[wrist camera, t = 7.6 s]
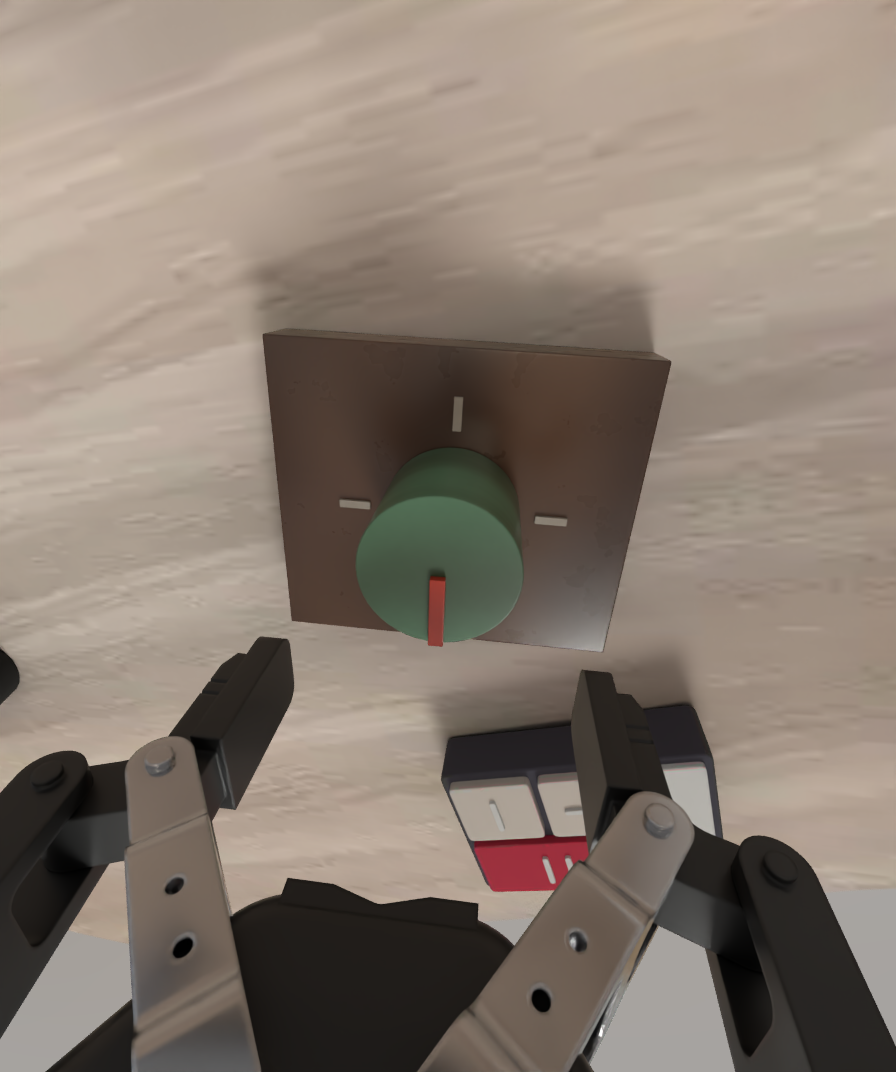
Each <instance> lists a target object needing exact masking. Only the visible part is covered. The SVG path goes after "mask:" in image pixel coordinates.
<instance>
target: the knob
mask: <svg viewBox="0 0 896 1072" xmlns="http://www.w3.org/2000/svg"><path fill="white" fill-rule="evenodd" d="M355 568H356V576H357V580H358V584H359V587H360V589H361V592H362V594H363V596H364V598H365V599H366V601H367V603H368V604H369V605H370V607H371V608H372V609H373V611H374V612H375V613H376V614H377V615H378V616H379V617H380V618H381V619H382V620H384V621H385V622H386V623H387V624H389V625H390V626H392V627H393V628H395V629H397V630H398V631H400V632H402V633H404V634H406V635H409V636H412V637H415V638H418V639H422V640H426V641H428V645H429V646H440V647H442V646H443V642H457V641H463V640H468V639H471V638H474V637H477V636H479V635H482V634H484V633H486V632H488V631H489V630H491V629H493V628H494V627H496V626H497V625H498V624H499V623H501V622H502V621H503V620H504V619H505V618H506V617H507V616H508V615H509V613H510V612H511V611H512V609H513V608H514V606H515V604H516V603H517V601H518V599H519V596H520V593H521V591H522V586H523V581H524V565H523V551H522V537H521V523H520V509H519V501H518V497H517V493H516V491H515V488H514V486H513V484H512V482H511V480H510V479H509V477H508V476H507V475H506V473H505V472H504V471H503V470H502V469H501V468H500V467H499V466H498V465H497V464H496V463H494V462H493V461H492V460H490V459H489V458H487V457H485V456H483V455H481V454H479V453H476V452H474V451H470V450H467V449H462V448H439V449H434V450H430V451H427V452H424V453H422V454H419V455H418V456H416V457H414V458H412V459H411V460H410V461H408V462H407V463H406V464H405V465H404V466H403V467H402V468H401V469H400V470H399V471H398V472H397V474H396V475H395V477H394V478H393V480H392V482H391V484H390V486H389V487H388V489H387V491H386V493H385V495H384V496H383V498H382V500H381V502H380V504H379V506H378V507H377V509H376V511H375V513H374V515H373V517H372V518H371V520H370V522H369V524H368V526H367V528H366V529H365V531H364V533H363V535H362V537H361V539H360V542H359V545H358V548H357V553H356V564H355Z"/></svg>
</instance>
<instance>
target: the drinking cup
mask: <svg viewBox="0 0 896 1072" xmlns="http://www.w3.org/2000/svg"><path fill="white" fill-rule="evenodd" d="M18 684H19V673H18V670H17V668H16V666H15V665H14V663H13V662H12V660H11V659H10V658H9V657H8V656H7V655H6V654H5V653H4V652H2V651H1V650H0V704H1V703H2V702H3V701H4V700H5V699H6V698H7V697H8V696H9V695H10V694H11V693H12V692H13V691H14V690H15V689H16V688H17V687H18Z"/></svg>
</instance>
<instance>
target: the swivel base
mask: <svg viewBox="0 0 896 1072" xmlns="http://www.w3.org/2000/svg"><path fill="white" fill-rule="evenodd" d="M263 344H264V354H265V364H266V374H267V383H268V393H269V403H270V412H271V422H272V432H273V442H274V451H275V461H276V471H277V481H278V490H279V500H280V510H281V520H282V529H283V539H284V549H285V559H286V568H287V578H288V588H289V598H290V607H291V617H292V621H298V622H308V623H317V624H327V625H337V626H347V627H357V628H367V629H377V630H387V631H397V632H400V631H398V630H397V629H395V628H393V627H392V626H390V625H389V624H387V623H386V622H385V621H384V620H382V619H381V618H380V617H379V616H378V615H377V614H376V613H375V612H374V611H373V609H372V608H371V607H370V605H369V604H368V603H367V601H366V599H365V598H364V596H363V594H362V592H361V589H360V587H359V584H358V580H357V576H356V568H355V564H356V553H357V548H358V545H359V542H360V539H361V537H362V535H363V533H364V531H365V529H366V528H367V526H368V524H369V522H370V520H371V518H372V517H373V515H374V513H375V511H376V509H377V507H378V506H379V504H380V502H381V500H382V498H383V496H384V495H385V493H386V491H387V489H388V487H389V486H390V484H391V482H392V480H393V478H394V477H395V475H396V474H397V472H398V471H399V470H400V469H401V468H402V467H403V466H404V465H405V464H406V463H407V462H408V461H410V460H411V459H412V458H414V457H416V456H418V455H419V454H422V453H424V452H427V451H430V450H434V449H439V448H462V449H467V450H470V451H474V452H476V453H479V454H481V455H483V456H485V457H487V458H489V459H490V460H492V461H493V462H494V463H496V464H497V465H498V466H499V467H500V468H501V469H502V470H503V471H504V472H505V473H506V475H507V476H508V477H509V479H510V480H511V482H512V484H513V486H514V488H515V491H516V493H517V497H518V501H519V509H520V523H521V537H522V551H523V565H524V581H523V586H522V591H521V593H520V596H519V599H518V601H517V603H516V604H515V606H514V608H513V609H512V611H511V612H510V613H509V615H508V616H507V617H506V618H505V619H504V620H503V621H502V622H501V623H499V624H498V625H497V626H496V627H494V628H493V629H491V630H489V631H488V632H486V633H484V634H482V635H479V636H477V637H474V638H471V639H476V640H486V641H496V642H506V643H515V644H525V645H535V646H545V647H555V648H565V649H575V650H585V651H595V652H603V650H604V646H605V642H606V638H607V633H608V629H609V625H610V621H611V616H612V612H613V608H614V604H615V599H616V595H617V591H618V587H619V582H620V578H621V574H622V570H623V566H624V561H625V557H626V553H627V549H628V544H629V540H630V536H631V532H632V527H633V523H634V519H635V515H636V510H637V506H638V502H639V498H640V493H641V489H642V485H643V481H644V477H645V472H646V468H647V464H648V460H649V455H650V451H651V447H652V443H653V438H654V434H655V430H656V426H657V421H658V417H659V413H660V409H661V405H662V400H663V396H664V392H665V388H666V383H667V379H668V375H669V371H670V366H671V361H670V360H668V359H666V358H664V357H662V356H659V355H657V354H655V353H651V352H636V351H621V350H606V349H590V348H575V347H560V346H545V345H530V344H514V343H499V342H484V341H469V340H453V339H438V338H423V337H408V336H393V335H377V334H362V333H347V332H332V331H317V330H301V329H282V330H278V331H273V332H269V333H265V334H263Z"/></svg>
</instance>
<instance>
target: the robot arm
mask: <svg viewBox="0 0 896 1072" xmlns="http://www.w3.org/2000/svg"><path fill="white" fill-rule="evenodd" d="M293 691H294V676H293V667H292V658H291V649H290V643H289V641H288V640H287V639H281V638H271V637H259V638H258V639H257V640H256V641H255V643H254V644H253V646H252V647H251V648H250V650H249V651H248V653H247V654H242V653H237V654H236V655H235V656H233V657H232V658H230V659H229V660H228V661H226V662H225V663H223V664H222V665H221V666H220V667H219V669H218V670H217V671H216V673H215V674H214V676H213V677H212V678H211V681H210V682H208V684H207V685H206V686H205V688H204V689H203V690H202V694H201V693H200V694H199V696H198V697H197V698H196V700H195V701H194V702H193V704H192V705H191V706H190V708H189V709H188V710H187V712H186V713H185V714H184V716H183V717H182V718H181V720H180V721H179V722H178V724H177V725H176V726H175V728H174V729H173V730H172V732H171V733H170V734H169V736H168V737H164V738H160V739H157V740H154V741H152V742H150V743H148V744H146V745H145V746H143V747H141V748H140V749H139V750H138V751H136V752H135V753H134V755H133V756H132V757H131V758H130V759H129V760H126V761H121V762H114V763H108V764H101V765H95V766H88V763H87V760H86V758H85V757H84V755H82V754H81V753H79V752H76V751H60V752H56V753H52V754H49V755H46V756H44V757H42V758H39V759H38V760H36V761H34V762H32V763H31V764H29V765H28V766H26V767H25V768H24V769H23V770H21V771H20V772H19V773H18V774H17V775H16V776H15V778H14V779H13V780H12V781H11V782H10V783H9V784H8V785H7V786H6V787H5V788H4V789H3V791H2V792H1V793H0V1038H1V1037H2V1035H3V1033H4V1032H5V1030H6V1029H7V1027H8V1026H9V1024H10V1022H11V1021H12V1019H13V1018H14V1016H15V1014H16V1012H17V1011H18V1009H19V1008H20V1006H21V1005H22V1003H23V1001H24V1000H25V998H26V997H27V995H28V993H29V992H30V990H31V989H32V987H33V985H34V984H35V982H36V981H37V979H38V977H39V976H40V974H41V972H42V971H43V969H44V968H45V966H46V964H47V963H48V961H49V960H50V958H51V956H52V955H53V953H54V951H55V950H56V948H57V947H58V945H59V943H60V942H61V940H62V939H63V937H64V935H65V934H66V932H67V931H68V929H69V927H70V926H71V924H72V923H73V921H74V919H75V918H76V916H77V915H78V913H79V911H80V910H81V908H82V907H83V905H84V903H85V902H86V900H87V898H88V897H89V895H90V894H91V892H92V890H93V889H94V887H95V886H96V884H97V882H98V881H99V879H100V878H101V876H102V874H103V873H104V871H105V870H106V868H107V866H108V865H109V863H114V862H119V861H124V862H125V879H126V897H127V915H128V932H129V949H130V968H131V985H132V999H131V1000H130V1001H129V1002H127V1003H126V1004H125V1005H124V1006H123V1007H121V1008H120V1009H119V1010H118V1011H117V1012H116V1013H115V1014H113V1015H112V1016H111V1017H110V1018H109V1019H107V1020H106V1021H105V1022H104V1023H103V1024H101V1025H100V1026H99V1027H98V1028H97V1029H95V1030H94V1031H93V1032H92V1033H91V1034H90V1035H88V1036H87V1037H86V1038H85V1039H84V1040H82V1041H81V1042H80V1043H79V1044H78V1045H77V1046H75V1047H74V1048H73V1049H72V1050H71V1051H69V1052H68V1053H67V1054H66V1055H65V1056H63V1057H62V1058H61V1059H60V1060H59V1061H58V1062H56V1063H55V1064H54V1065H53V1066H52V1067H51V1068H49V1069H48V1070H47V1071H46V1072H594V1071H593V1070H592V1068H591V1066H590V1063H591V1061H592V1059H593V1058H594V1055H595V1054H596V1052H597V1050H598V1048H599V1046H600V1044H601V1042H602V1040H603V1038H604V1036H605V1034H606V1032H607V1030H608V1028H609V1025H610V1023H611V1021H612V1019H613V1017H614V1015H615V1013H616V1010H617V1008H618V1006H619V1004H620V1002H621V999H622V997H623V995H624V993H625V991H626V989H627V987H628V985H629V983H630V982H631V980H632V978H633V976H634V974H635V972H636V970H637V968H638V966H639V964H640V962H641V960H642V958H643V956H644V954H645V952H646V950H647V948H648V946H649V944H650V942H651V940H652V938H653V937H654V934H655V933H656V931H657V929H658V927H659V926H660V927H663V928H665V929H667V930H669V931H671V932H673V933H675V934H677V935H679V936H681V937H684V938H685V939H687V940H690V941H691V942H694V943H696V944H698V945H700V946H702V947H704V948H705V950H706V954H707V958H708V962H709V966H710V970H711V974H712V978H713V982H714V987H715V991H716V994H717V999H718V1003H719V1007H720V1011H721V1015H722V1019H723V1023H724V1027H725V1031H726V1035H727V1040H728V1044H729V1048H730V1052H731V1056H732V1059H733V1064H734V1068H735V1072H896V1046H895V1044H894V1042H893V1039H892V1037H891V1035H890V1033H889V1031H888V1029H887V1026H886V1024H885V1023H884V1020H883V1018H882V1016H881V1014H880V1011H879V1009H878V1007H877V1005H876V1003H875V1001H874V998H873V996H872V994H871V992H870V990H869V988H868V986H867V983H866V981H865V979H864V977H863V975H862V973H861V971H860V968H859V966H858V964H857V962H856V960H855V958H854V956H853V953H852V951H851V949H850V947H849V945H848V943H847V940H846V938H845V936H844V934H843V932H842V930H841V927H840V925H839V923H838V921H837V919H836V917H835V915H834V912H833V910H832V908H831V906H830V904H829V902H828V899H827V897H826V895H825V893H824V891H823V889H822V886H821V884H820V882H819V880H818V878H817V876H816V874H815V872H814V870H813V869H812V868H811V866H810V865H809V864H808V862H807V861H806V860H805V859H804V858H803V857H802V856H801V855H800V854H799V853H798V852H796V851H795V850H794V849H792V848H791V847H789V846H788V845H786V844H785V843H783V842H781V841H779V840H776V839H773V838H771V837H766V836H751V837H748V838H747V839H745V840H744V841H743V842H742V843H741V845H740V846H739V845H737V844H734V843H732V842H729V841H727V840H724V839H722V838H719V837H717V836H714V835H712V834H710V833H708V832H705V831H703V830H702V829H700V828H698V827H697V826H695V825H694V824H693V823H692V822H691V819H690V818H689V816H688V815H687V813H686V812H685V811H684V810H683V808H682V807H681V806H679V805H678V804H677V803H676V802H675V801H673V799H672V797H671V794H670V791H669V788H668V785H667V781H666V778H665V775H664V772H663V769H662V766H661V763H660V760H659V756H658V753H657V750H656V747H655V745H654V744H653V738H652V735H651V732H650V731H649V725H648V722H647V719H646V716H645V713H644V710H643V709H642V708H641V707H640V705H639V704H638V703H637V702H636V700H635V699H634V698H633V697H632V696H631V695H628V694H618V693H617V692H616V688H615V684H614V680H613V677H612V674H611V673H609V672H599V671H589V670H582V671H581V673H580V677H579V682H578V687H577V692H576V696H575V701H574V706H573V711H572V720H571V734H572V742H573V749H574V756H575V763H576V770H577V777H578V784H579V791H580V798H581V805H582V812H583V819H584V826H585V833H586V840H587V846H588V853H589V855H588V857H587V858H586V859H585V860H584V861H582V860H578V861H576V862H575V863H574V865H573V866H572V867H571V868H570V870H569V871H568V872H567V874H566V875H565V877H564V878H563V879H562V881H561V882H560V884H559V885H558V886H557V888H556V889H555V890H554V892H553V893H552V895H551V896H550V897H549V899H548V900H547V902H546V903H545V904H544V906H543V907H542V909H541V910H540V911H539V913H538V914H537V915H536V917H535V918H534V920H533V921H532V922H531V924H530V925H529V927H528V928H527V929H526V931H525V932H524V934H523V935H522V936H521V938H520V939H519V940H518V942H517V943H516V945H515V946H514V945H513V944H512V943H511V942H510V941H509V940H508V939H507V938H506V937H504V936H503V935H502V934H500V932H498V931H497V930H495V929H494V928H492V927H490V926H489V925H487V924H485V923H483V922H481V921H479V920H478V904H477V903H470V902H463V901H455V900H448V899H440V898H433V897H428V898H422V899H415V900H408V901H401V902H394V903H387V904H377V903H374V902H372V901H369V900H367V899H365V898H363V897H361V896H359V895H356V894H354V893H352V892H350V891H348V890H345V889H343V888H341V887H339V886H337V885H334V884H329V883H322V882H314V881H307V880H299V879H292V878H287V881H286V884H285V886H284V889H283V892H282V894H281V895H276V896H272V897H268V898H265V899H262V900H259V901H257V902H254V903H252V904H250V905H248V906H246V907H244V908H243V909H241V910H239V911H238V912H236V913H235V914H233V915H232V910H231V906H230V902H229V897H228V893H227V888H226V884H225V879H224V874H223V870H222V865H221V861H220V856H219V851H218V847H217V842H216V837H215V833H214V828H213V824H212V820H213V819H214V817H215V815H216V813H217V811H218V809H219V808H226V809H234V810H236V808H237V806H238V804H239V802H240V800H241V798H242V797H243V795H244V793H245V791H246V789H247V787H248V785H249V783H250V781H251V779H252V777H253V775H254V773H255V771H256V769H257V767H258V765H259V763H260V762H261V760H262V758H263V756H264V754H265V752H266V750H267V748H268V746H269V744H270V742H271V740H272V738H273V736H274V734H275V732H276V730H277V728H278V726H279V725H280V723H281V721H282V719H283V717H284V715H285V713H286V711H287V709H288V707H289V705H290V703H291V700H292V696H293Z"/></svg>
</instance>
